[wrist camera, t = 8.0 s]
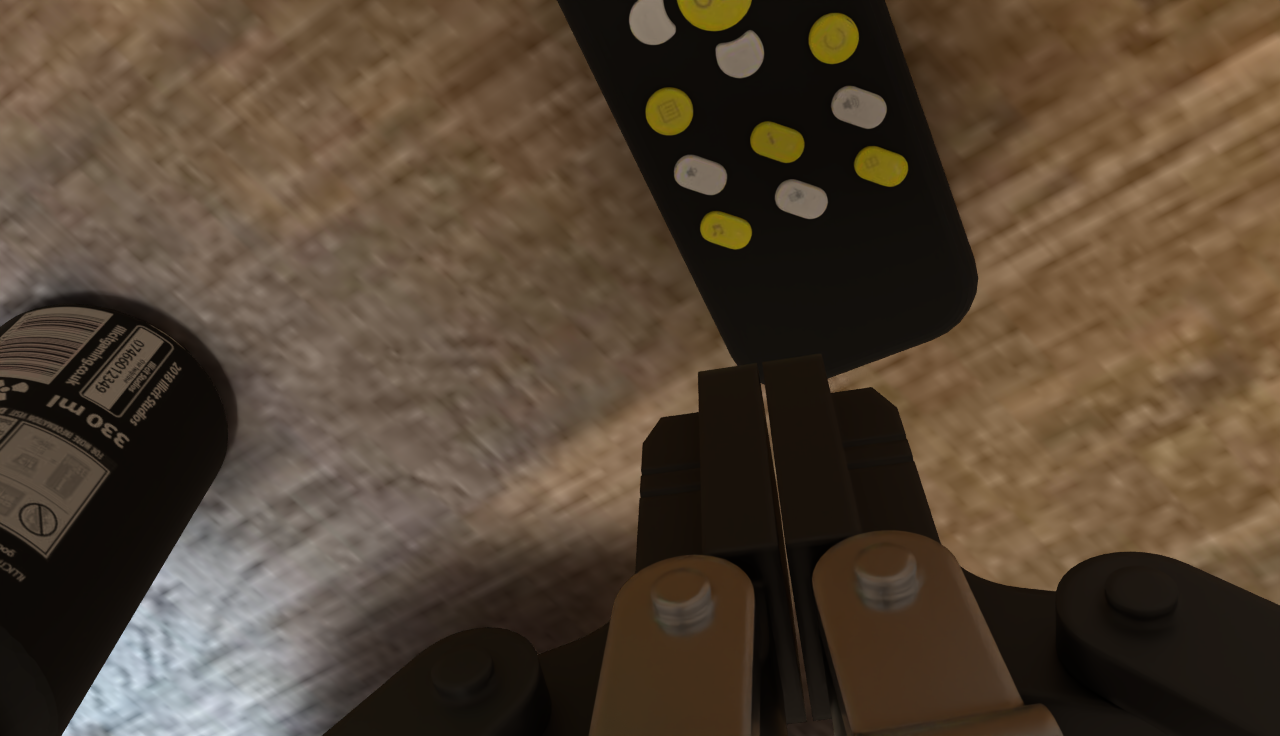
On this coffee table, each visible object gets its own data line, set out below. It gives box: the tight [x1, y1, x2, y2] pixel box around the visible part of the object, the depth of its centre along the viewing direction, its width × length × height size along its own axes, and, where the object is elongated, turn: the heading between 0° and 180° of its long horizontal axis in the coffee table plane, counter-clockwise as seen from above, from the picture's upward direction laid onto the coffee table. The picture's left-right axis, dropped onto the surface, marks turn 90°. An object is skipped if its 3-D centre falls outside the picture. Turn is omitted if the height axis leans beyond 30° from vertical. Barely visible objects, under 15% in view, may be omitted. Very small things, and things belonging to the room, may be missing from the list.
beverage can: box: [0, 304, 228, 736], centre depth 25 cm, size 7×7×12 cm
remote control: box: [557, 0, 978, 385], centre depth 25 cm, size 6×13×2 cm, turn 25°
